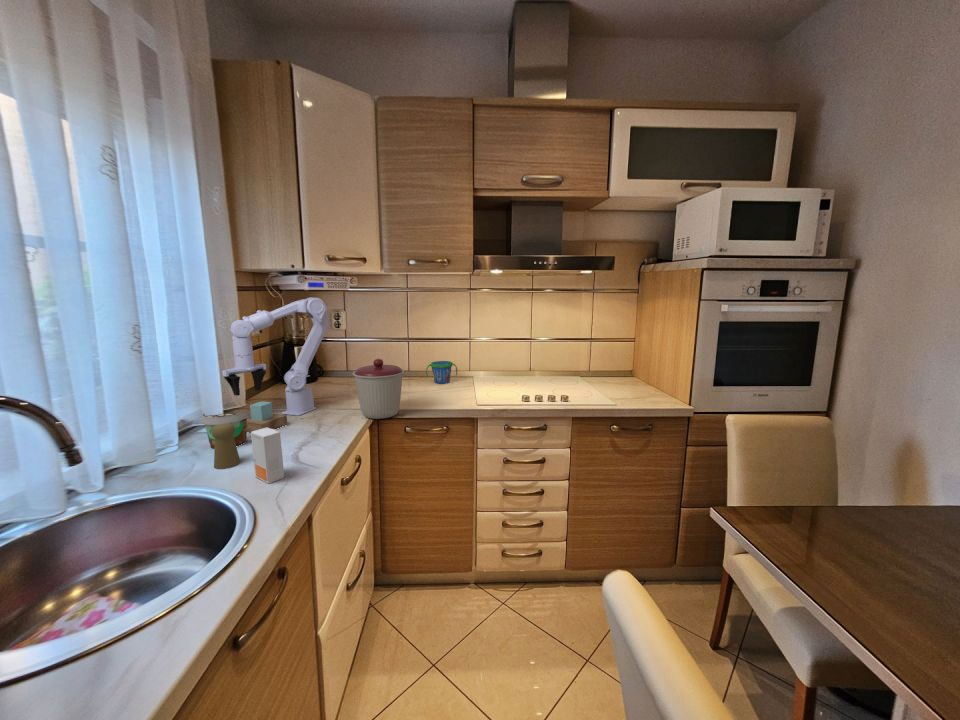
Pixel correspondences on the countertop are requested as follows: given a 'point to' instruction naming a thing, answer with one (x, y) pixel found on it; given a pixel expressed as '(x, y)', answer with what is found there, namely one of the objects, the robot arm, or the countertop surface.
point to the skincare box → (267, 455)
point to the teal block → (261, 411)
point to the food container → (235, 419)
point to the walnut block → (267, 423)
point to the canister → (379, 389)
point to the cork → (225, 446)
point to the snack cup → (441, 371)
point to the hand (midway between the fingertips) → (247, 392)
